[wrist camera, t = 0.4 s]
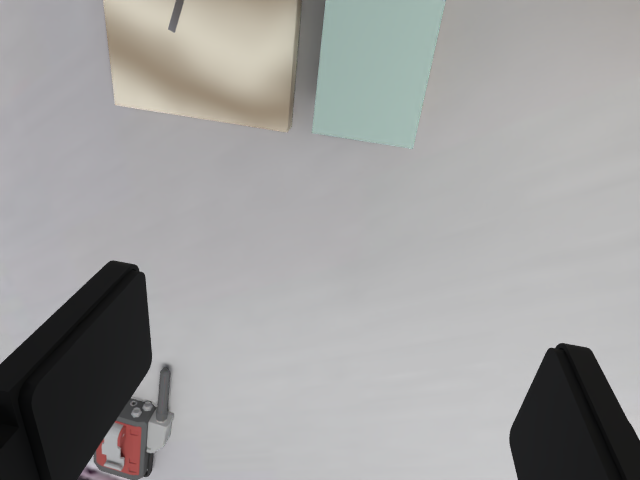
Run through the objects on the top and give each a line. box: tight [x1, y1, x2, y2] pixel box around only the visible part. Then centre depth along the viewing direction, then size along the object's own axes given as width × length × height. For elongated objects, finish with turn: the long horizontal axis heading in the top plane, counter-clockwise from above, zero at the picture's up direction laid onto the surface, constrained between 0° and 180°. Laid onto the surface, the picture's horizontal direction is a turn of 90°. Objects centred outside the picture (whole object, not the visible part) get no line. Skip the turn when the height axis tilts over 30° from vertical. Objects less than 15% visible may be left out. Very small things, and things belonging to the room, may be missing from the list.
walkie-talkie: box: [94, 368, 174, 480], centre depth 53 cm, size 9×4×20 cm
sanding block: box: [312, 0, 446, 149], centre depth 28 cm, size 10×6×7 cm, turn 174°
